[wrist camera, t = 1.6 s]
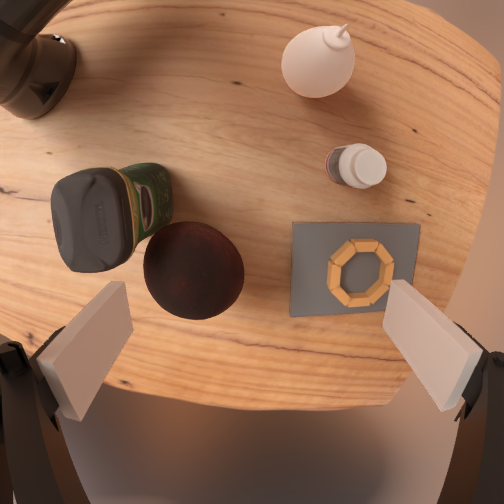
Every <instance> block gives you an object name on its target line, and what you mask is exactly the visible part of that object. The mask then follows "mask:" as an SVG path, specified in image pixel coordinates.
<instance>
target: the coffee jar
mask: <svg viewBox="0 0 504 504" xmlns="http://www.w3.org/2000/svg"><path fill="white" fill-rule="evenodd" d="M172 205H173V204H172V191H171V184H170V179H169V175H168V173H167V171H166V170H165V168H164V167H162V166H161V165H159V164H156V163H141V164H135V165H131V166H128V167H125V168H122V169H119V170H117V169H115V168H112V167H106V166H101V167H92V168H87V169H83V170H80V171H78V172H76V173H74V174H71V175H69V176H67V177H65V178H63V179H61V180H60V181H58V182H57V183H56V185H55V186H54V188H53V191H52V195H51V210H52V220H53V227H54V232H55V237H56V241H57V245H58V249H59V252H60V255H61V257H62V259H63V261H64V262H65V264H66V265H67V266H68V267H69V268H70V270H71V271H74V272H80V273H97V272H103V271H107V270H110V269H113V268H115V267H117V266H119V265H121V264H123V263H125V262H126V261H127V260H128V259H129V258H130V257H131V256H132V254H133V252H134V251H135V248H136V246H137V244H138V243H139V242H141V241H142V240H144V239H145V238H147V237H149V236H151V235H153V234H155V233H156V232H157V231H159V230H160V229H161V228H163V227H165V226H167V225H168V224H169V223H170V221H171V218H172Z"/></svg>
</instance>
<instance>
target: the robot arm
mask: <svg viewBox="0 0 504 504" xmlns="http://www.w3.org/2000/svg"><path fill="white" fill-rule="evenodd" d="M71 1H72V0H0V105H1V106H2V107H4V108H5V109H6V110H8V111H9V112H11V113H12V114H13V115H15V116H16V117H19V118H25V119H35V118H38V117H41V116H43V115H44V114H46V113H47V112H49V111H50V110H51V109H52V108H53V107H54V106H55V105H56V104H57V103H58V102H59V100H60V99H61V98H62V96H63V95H64V93H65V92H66V90H67V88H68V86H69V84H70V82H71V79H72V77H73V74H74V70H75V65H76V52H75V49H74V46H73V44H72V43H71V42H70V41H69V40H67V39H66V38H64V37H62V36H60V35H57V34H38V33H39V32H40V31H41V30H42V29H43V28H44V27H45V26H46V25H47V24H48V23H49V22H50V21H51V20H52V19H53V18H54V17H55V16H56V15H57V14H58V13H59V12H60V11H61V10H62V9H64V8H65V7H66V6H67V5H68V4H69V3H70V2H71ZM382 328H383V329H384V331H385V332H386V334H387V335H388V336H389V338H390V339H391V340H392V342H393V343H394V344H395V346H396V347H397V349H398V350H399V351H400V353H401V354H402V356H403V357H404V358H405V360H406V361H407V363H408V364H409V365H410V367H411V368H412V370H413V371H414V373H415V374H416V375H417V377H418V378H419V380H420V381H421V383H422V384H423V386H424V387H425V388H426V390H427V391H428V393H429V394H430V396H431V397H432V399H433V400H434V402H435V403H436V405H437V407H438V408H439V410H440V411H441V412H442V411H446V410H448V409H451V408H454V407H455V406H456V405H457V403H458V401H459V399H460V397H461V396H462V397H463V398H464V399H465V403H464V404H463V406H462V408H461V410H460V411H459V413H458V414H457V416H456V418H455V420H454V421H457V419H458V418H459V417H460V422H459V427H458V432H457V437H456V441H455V446H454V450H453V454H452V458H451V462H450V465H449V468H448V472H447V475H446V478H445V482H444V485H443V488H442V491H441V494H440V496H439V499H438V502H437V504H504V353H502V352H496V351H495V352H491V353H489V352H488V351H487V350H486V349H485V348H484V347H483V346H482V345H481V344H480V343H479V342H477V341H476V339H474V338H472V336H471V335H470V334H469V333H467V331H466V330H465V329H464V328H463V327H462V326H460V325H459V324H457V323H455V322H453V321H451V320H450V319H449V318H448V317H447V316H446V315H445V314H444V313H442V312H441V311H440V310H439V309H438V308H437V307H436V306H434V305H433V304H432V303H431V302H430V301H429V300H428V299H426V298H425V297H424V296H423V295H422V294H421V293H419V292H418V291H417V290H416V289H415V288H414V287H412V286H411V285H410V284H409V283H408V282H406V281H405V280H404V279H401V280H391V285H390V291H389V296H388V301H387V306H386V311H385V315H384V320H383V324H382ZM133 330H134V329H133V324H132V320H131V315H130V310H129V304H128V299H127V293H126V287H125V282H123V281H111V282H110V283H109V284H108V285H107V286H106V287H105V288H103V289H102V290H101V291H100V292H99V293H98V294H97V295H96V296H95V297H94V298H93V299H92V300H91V301H90V302H89V303H88V304H87V305H86V306H85V307H84V308H83V309H82V310H81V311H80V312H79V313H78V314H77V315H76V316H75V318H74V319H73V320H72V321H71V322H70V323H69V324H68V325H67V326H64V327H62V328H60V329H59V330H57V331H55V332H54V333H53V334H52V335H51V336H50V337H49V340H47V341H46V342H45V343H44V345H42V346H41V347H40V348H39V349H38V350H37V351H36V352H35V354H34V355H33V356H32V357H31V358H30V359H29V360H28V358H27V356H26V353H25V351H24V349H23V346H22V344H21V343H19V342H16V341H11V342H7V343H4V344H2V345H1V346H0V504H13V491H14V495H15V499H16V502H17V504H91V503H90V501H89V499H88V497H87V495H86V493H85V491H84V489H83V487H82V484H81V482H80V479H79V477H78V475H77V472H76V470H75V467H74V465H73V462H72V459H71V457H70V454H69V451H68V448H67V445H66V442H65V439H64V436H63V433H62V430H61V426H60V423H59V420H58V417H57V415H56V414H55V411H56V410H57V408H58V407H60V409H61V411H62V412H63V414H64V416H65V417H67V418H70V419H74V420H77V421H82V419H83V417H84V415H85V413H86V411H87V410H88V408H89V406H90V404H91V402H92V400H93V399H94V396H95V395H96V393H97V391H98V390H99V388H100V386H101V384H102V383H103V381H104V379H105V377H106V376H107V374H108V372H109V370H110V369H111V367H112V365H113V364H114V362H115V360H116V358H117V357H118V355H119V353H120V352H121V350H122V348H123V347H124V345H125V343H126V342H127V340H128V338H129V337H130V335H131V334H132V332H133Z"/></svg>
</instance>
